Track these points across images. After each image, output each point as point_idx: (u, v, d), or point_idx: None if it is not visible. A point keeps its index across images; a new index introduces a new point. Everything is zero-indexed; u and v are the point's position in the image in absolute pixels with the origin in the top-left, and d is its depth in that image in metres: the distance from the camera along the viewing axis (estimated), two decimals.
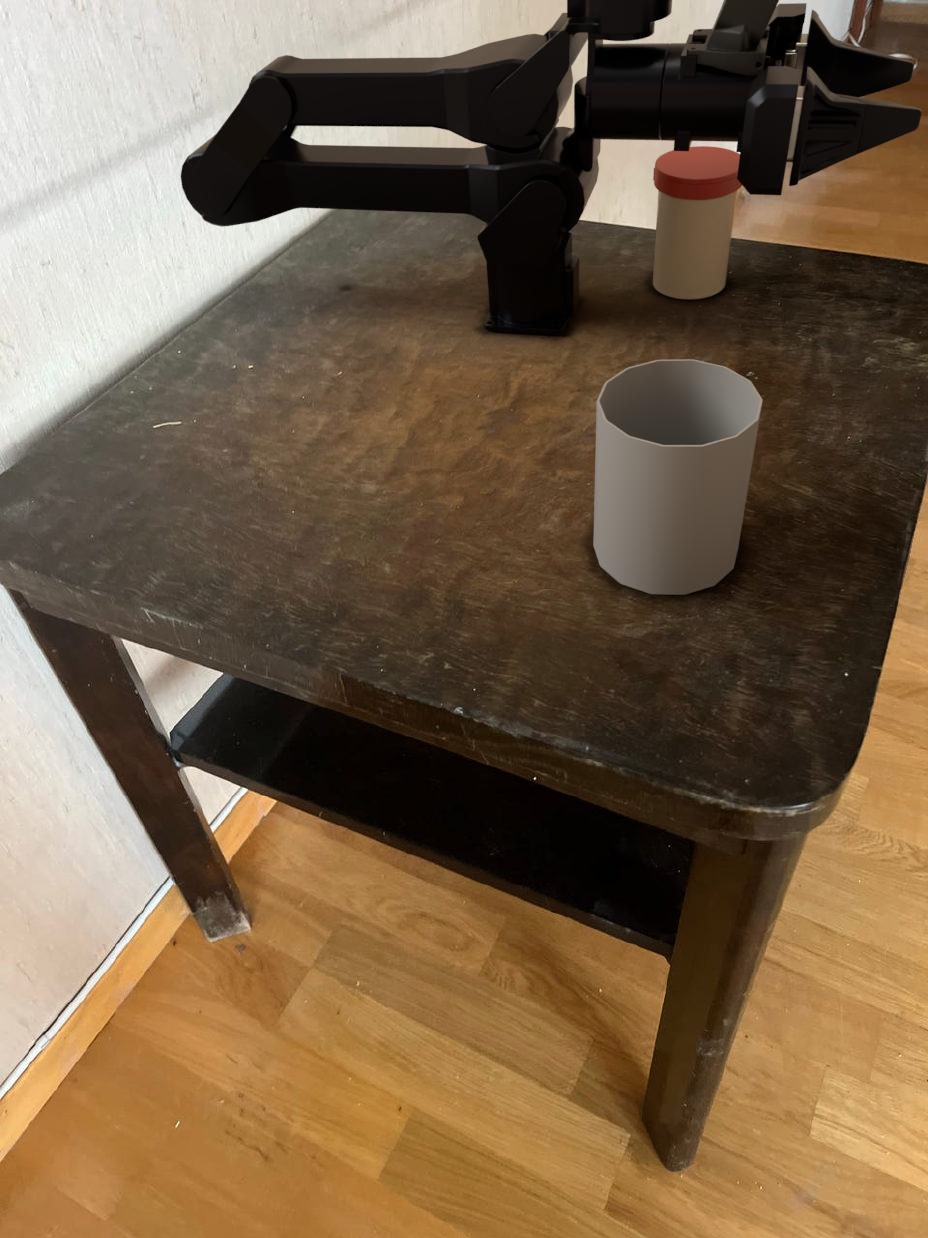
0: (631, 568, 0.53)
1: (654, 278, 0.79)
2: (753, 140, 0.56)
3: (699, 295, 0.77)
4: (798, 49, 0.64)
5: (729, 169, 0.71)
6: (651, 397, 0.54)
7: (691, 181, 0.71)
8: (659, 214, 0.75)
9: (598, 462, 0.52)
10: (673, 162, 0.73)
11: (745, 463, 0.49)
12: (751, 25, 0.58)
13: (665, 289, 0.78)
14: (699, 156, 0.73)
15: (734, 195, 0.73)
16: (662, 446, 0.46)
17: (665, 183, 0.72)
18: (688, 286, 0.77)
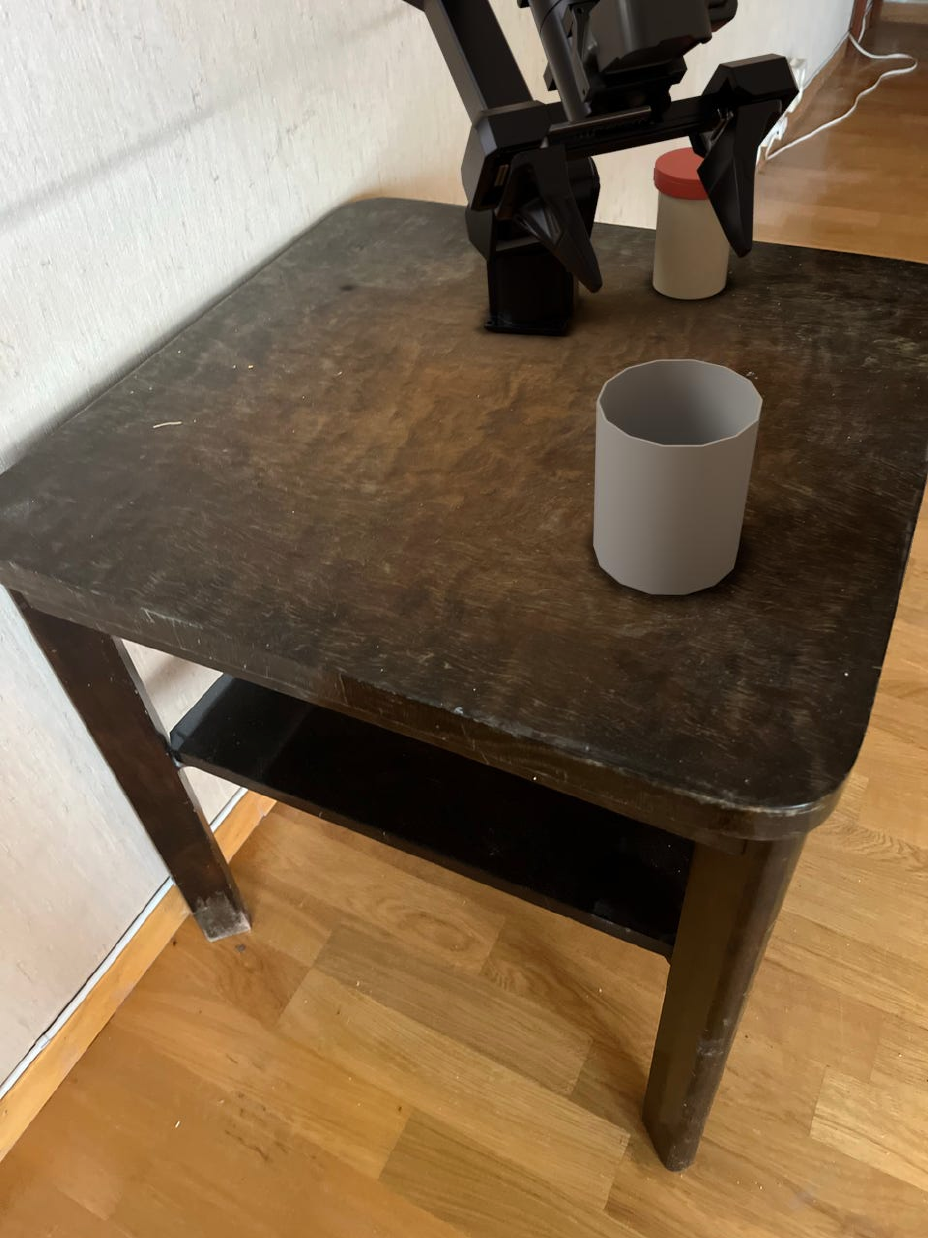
0: (631, 568, 0.53)
1: (654, 278, 0.79)
2: (466, 147, 0.52)
3: (699, 295, 0.77)
4: (727, 118, 0.53)
5: None
6: (651, 397, 0.54)
7: (691, 181, 0.71)
8: (659, 214, 0.75)
9: (598, 462, 0.52)
10: (673, 162, 0.73)
11: (745, 463, 0.49)
12: (599, 52, 0.49)
13: (665, 289, 0.78)
14: (699, 156, 0.73)
15: None
16: (662, 446, 0.46)
17: (665, 183, 0.72)
18: (688, 286, 0.77)
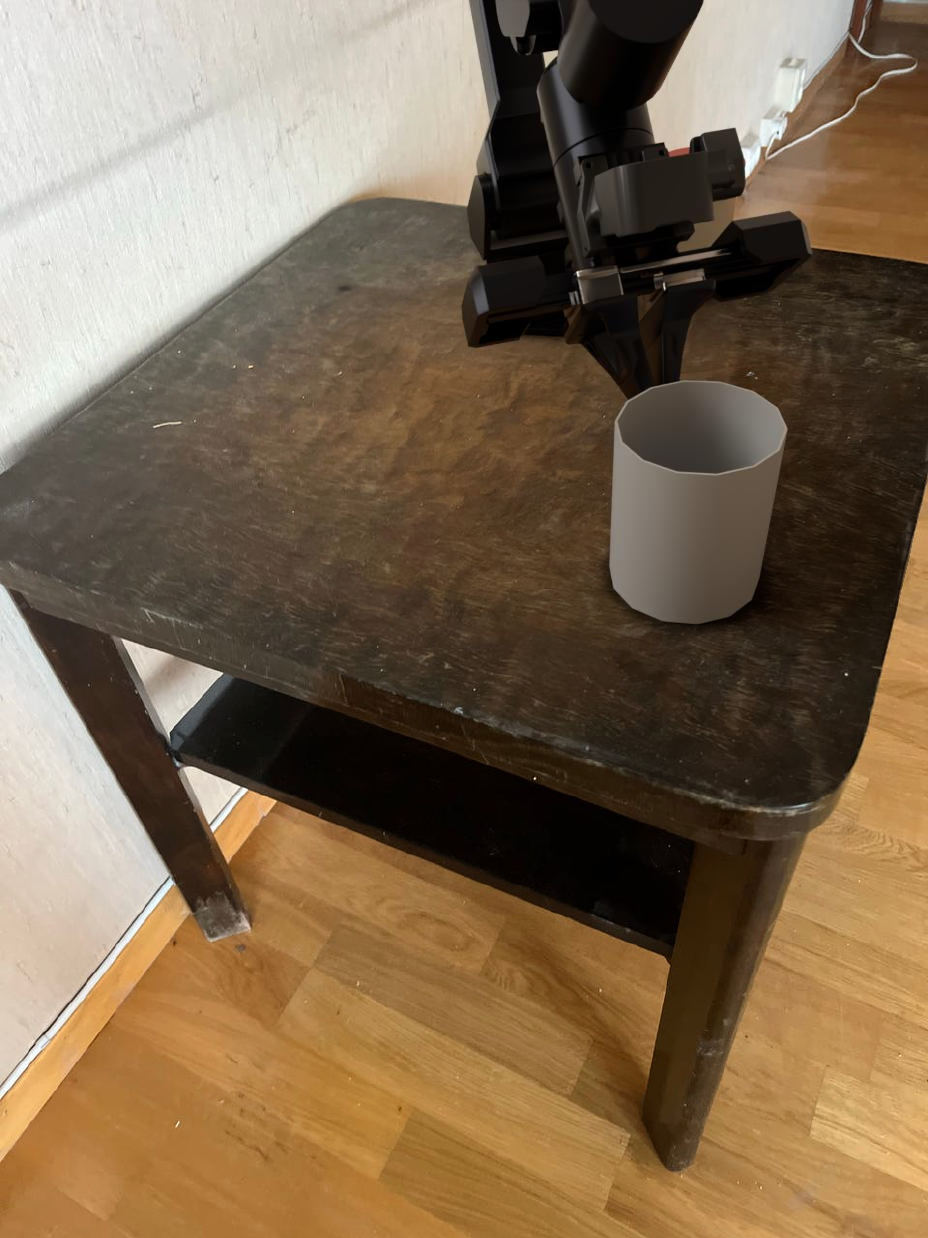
0: (643, 593, 0.51)
1: None
2: (465, 294, 0.52)
3: None
4: (661, 289, 0.52)
5: None
6: (676, 418, 0.52)
7: None
8: None
9: (614, 483, 0.50)
10: None
11: (765, 493, 0.47)
12: (600, 218, 0.48)
13: None
14: None
15: None
16: (675, 473, 0.45)
17: None
18: None
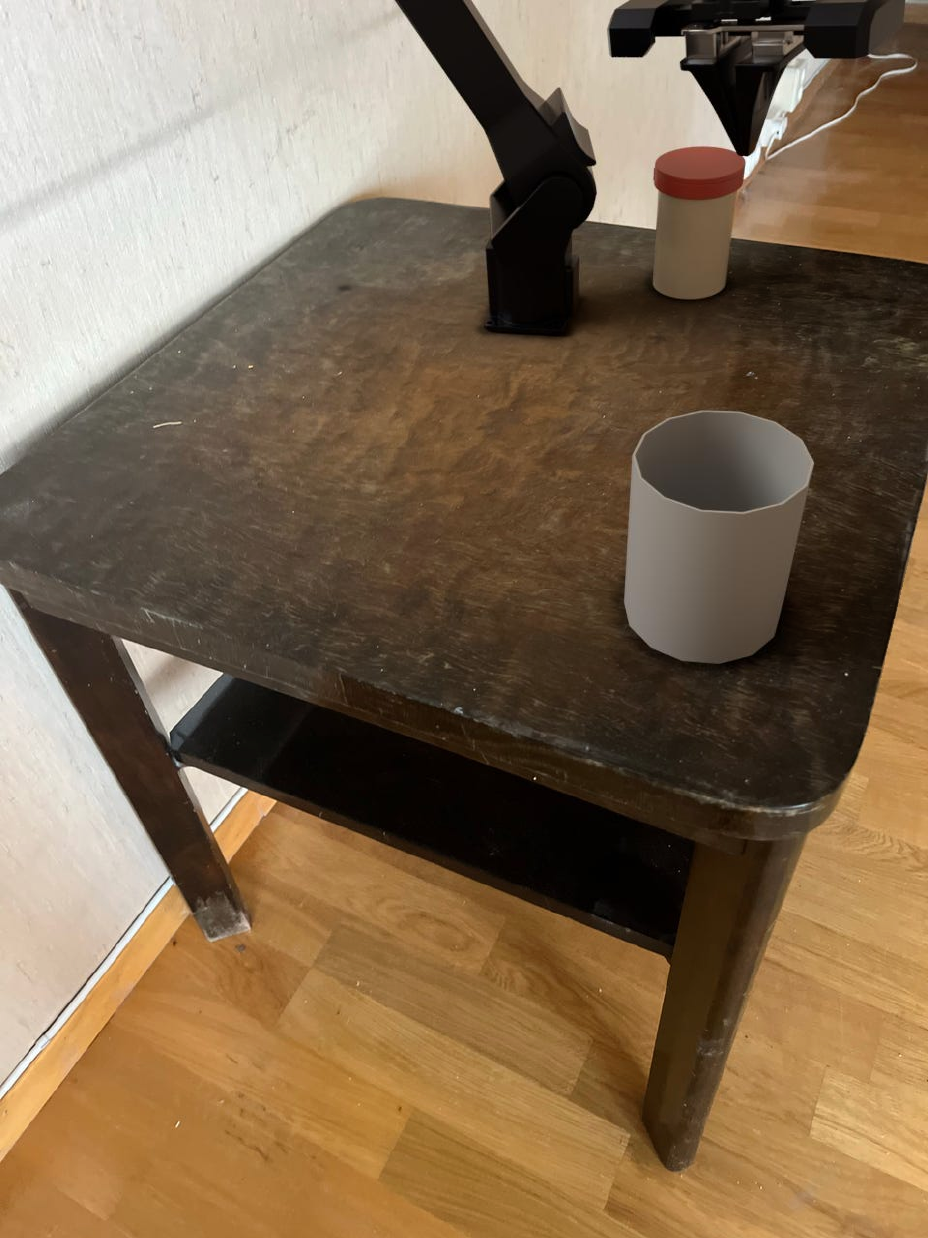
0: (662, 632, 0.49)
1: (654, 278, 0.79)
2: (891, 0, 0.57)
3: (699, 295, 0.77)
4: None
5: (729, 169, 0.71)
6: (693, 449, 0.50)
7: (691, 181, 0.71)
8: (659, 214, 0.75)
9: (631, 519, 0.48)
10: (673, 162, 0.73)
11: (791, 530, 0.45)
12: None
13: (665, 289, 0.78)
14: (699, 156, 0.73)
15: (734, 195, 0.73)
16: (700, 511, 0.43)
17: (665, 183, 0.72)
18: (688, 286, 0.77)
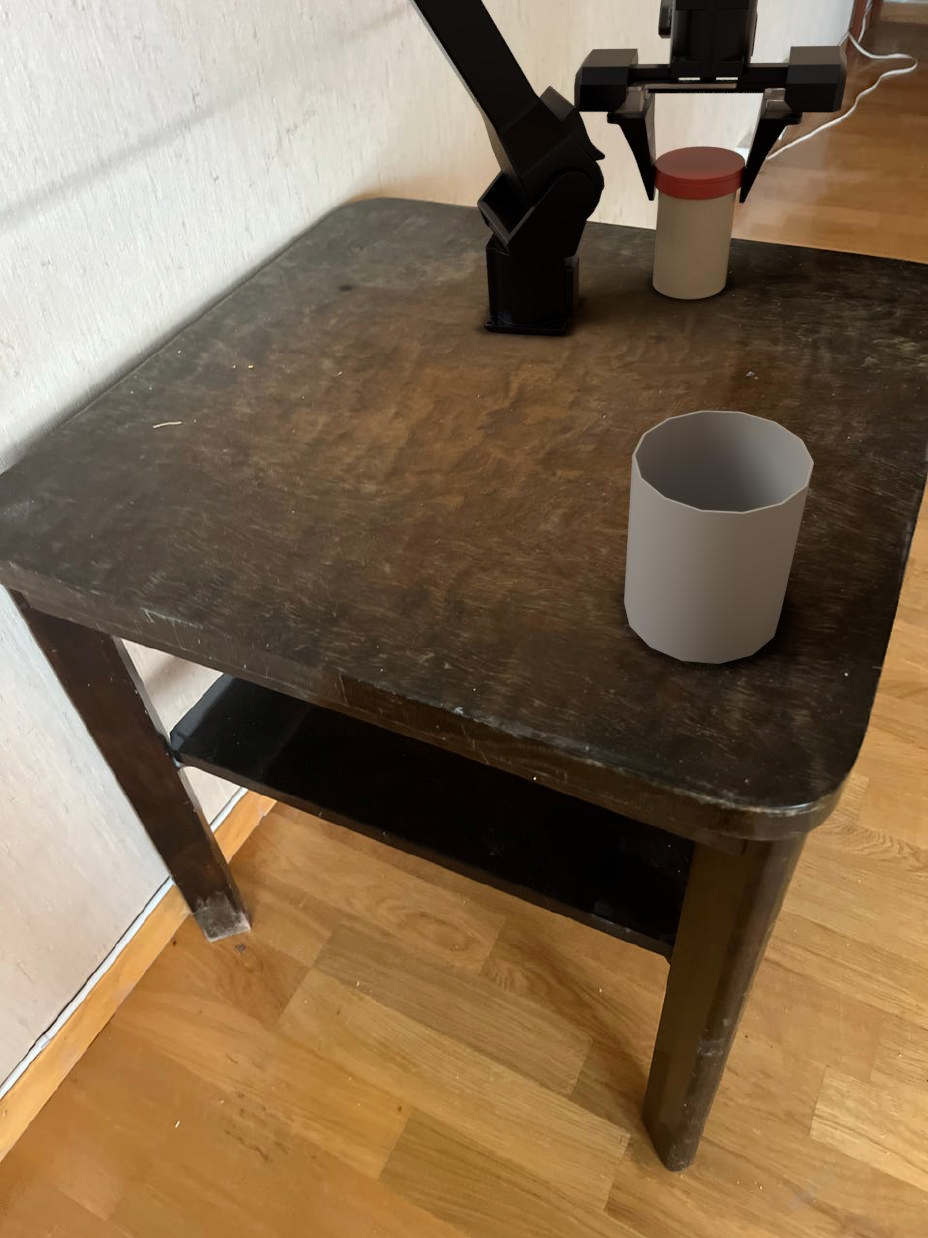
0: (662, 632, 0.49)
1: (654, 278, 0.79)
2: (846, 64, 0.66)
3: (699, 295, 0.77)
4: None
5: (729, 169, 0.71)
6: (693, 449, 0.50)
7: (691, 181, 0.71)
8: (659, 214, 0.75)
9: (631, 519, 0.48)
10: (673, 162, 0.73)
11: (791, 530, 0.45)
12: None
13: (665, 288, 0.78)
14: (699, 156, 0.73)
15: (734, 195, 0.73)
16: (700, 511, 0.43)
17: (665, 183, 0.72)
18: (688, 286, 0.77)
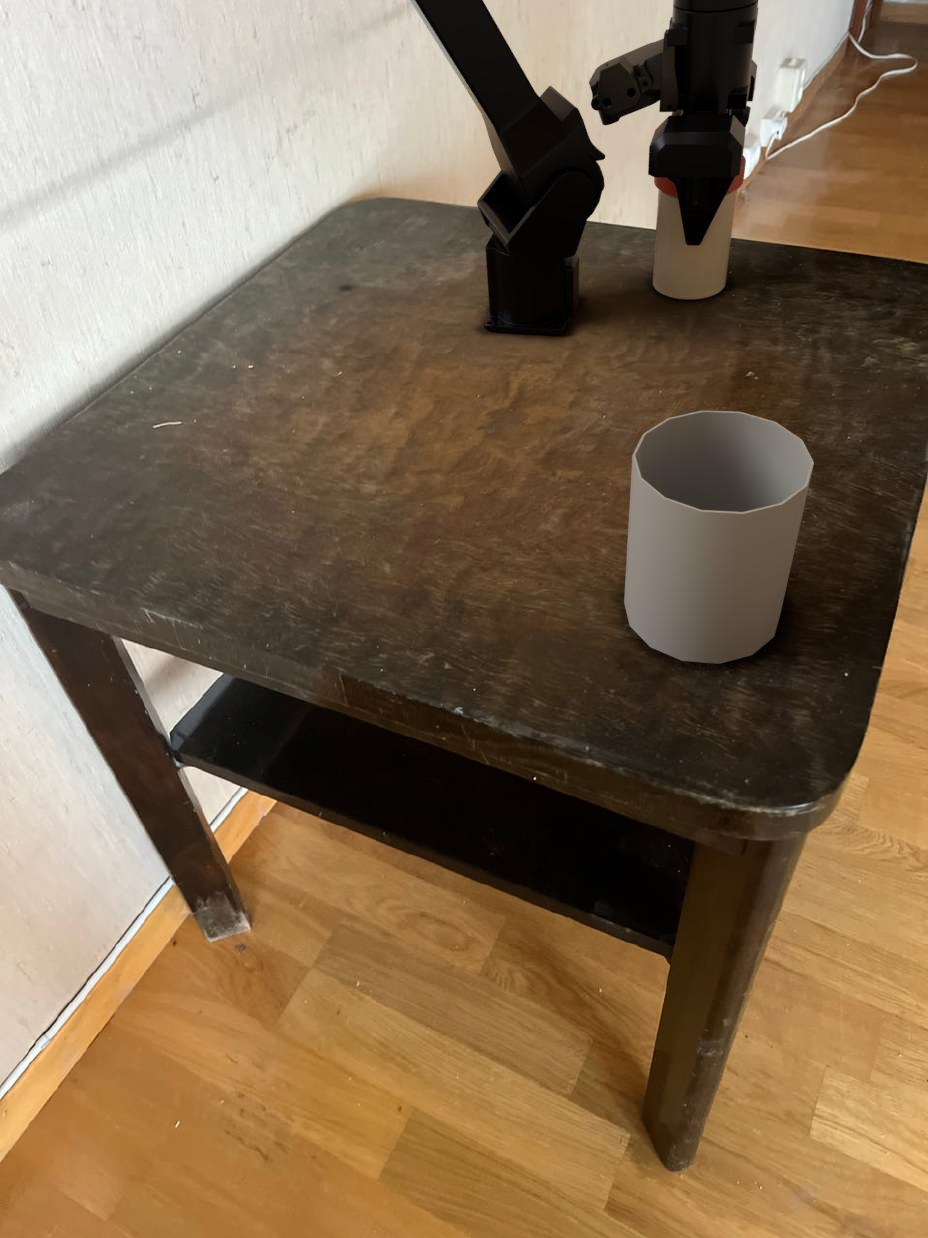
0: (662, 632, 0.49)
1: (654, 278, 0.79)
2: None
3: (699, 295, 0.77)
4: None
5: None
6: (693, 449, 0.50)
7: None
8: (659, 214, 0.75)
9: (631, 519, 0.48)
10: None
11: (791, 530, 0.45)
12: None
13: (665, 289, 0.78)
14: None
15: (734, 195, 0.73)
16: (700, 511, 0.43)
17: None
18: (688, 286, 0.77)
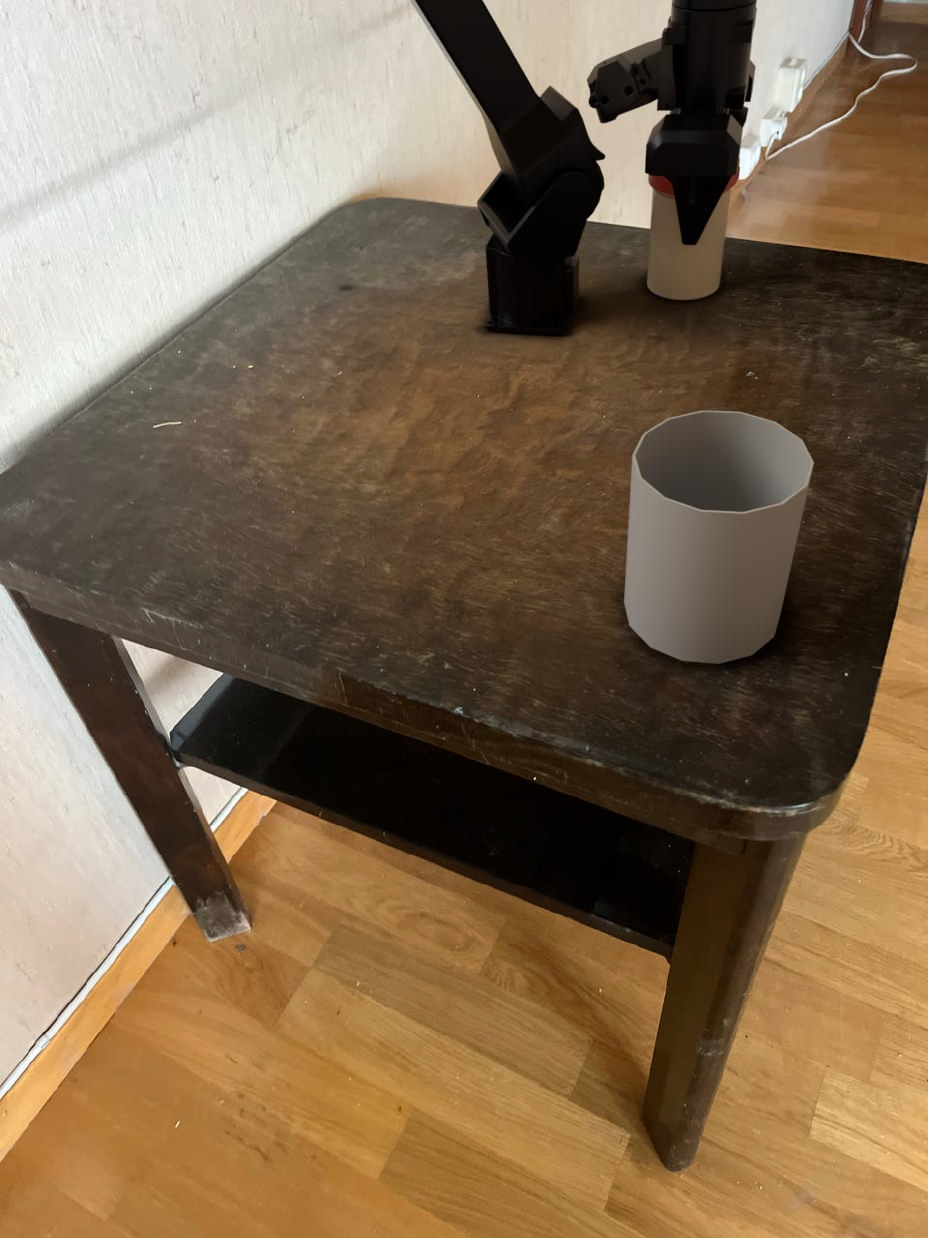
0: (662, 632, 0.49)
1: (648, 279, 0.79)
2: None
3: (693, 295, 0.77)
4: None
5: None
6: (693, 449, 0.50)
7: None
8: (653, 215, 0.75)
9: (631, 519, 0.48)
10: None
11: (791, 530, 0.45)
12: None
13: (659, 289, 0.78)
14: None
15: (728, 196, 0.73)
16: (700, 511, 0.43)
17: None
18: (683, 286, 0.77)
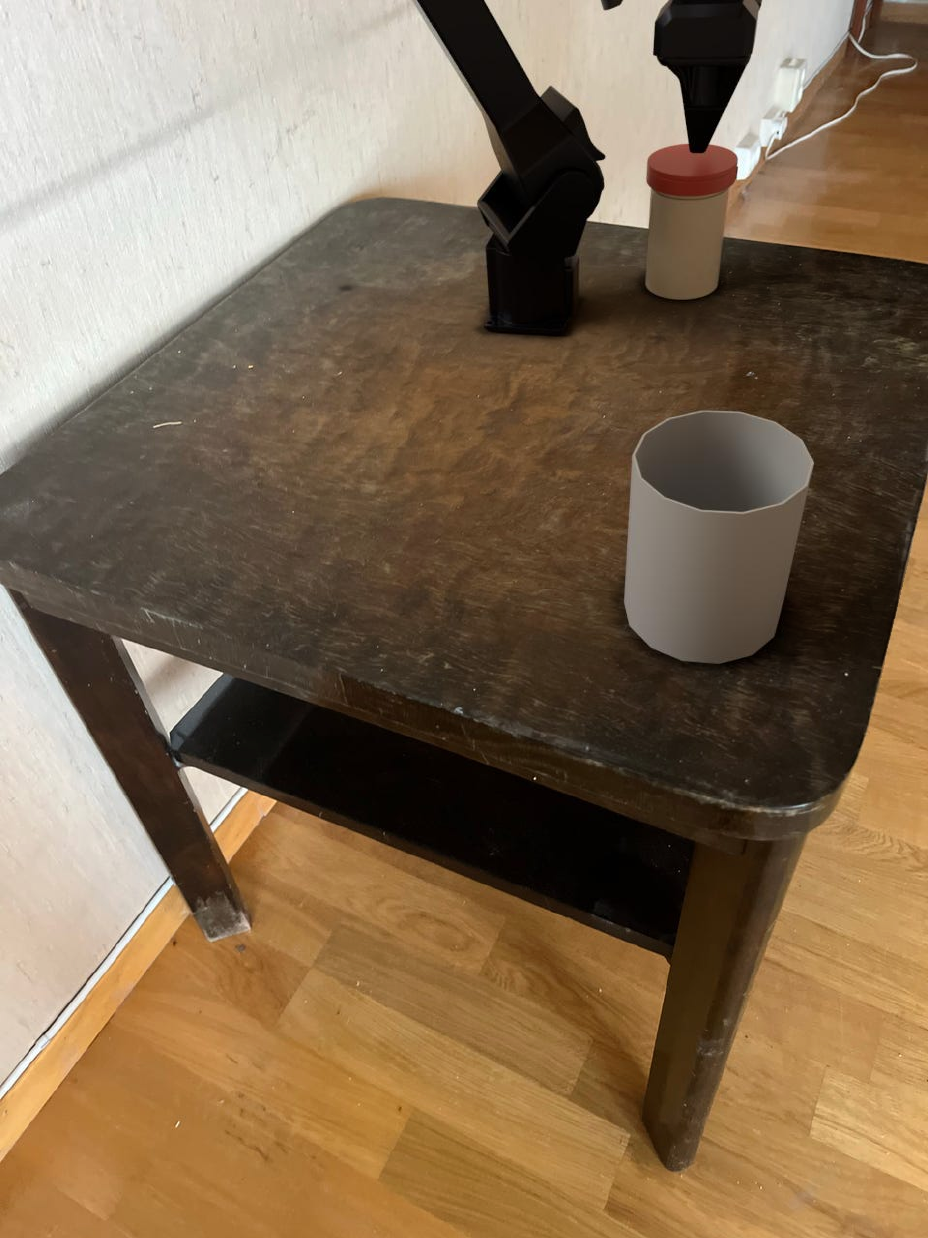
0: (662, 632, 0.49)
1: (647, 278, 0.79)
2: None
3: (691, 295, 0.77)
4: None
5: (664, 151, 0.74)
6: (693, 449, 0.50)
7: None
8: (651, 214, 0.75)
9: (631, 519, 0.48)
10: (719, 158, 0.72)
11: (791, 530, 0.45)
12: None
13: (657, 289, 0.78)
14: (692, 164, 0.72)
15: (726, 195, 0.73)
16: (700, 511, 0.43)
17: None
18: (681, 286, 0.77)
